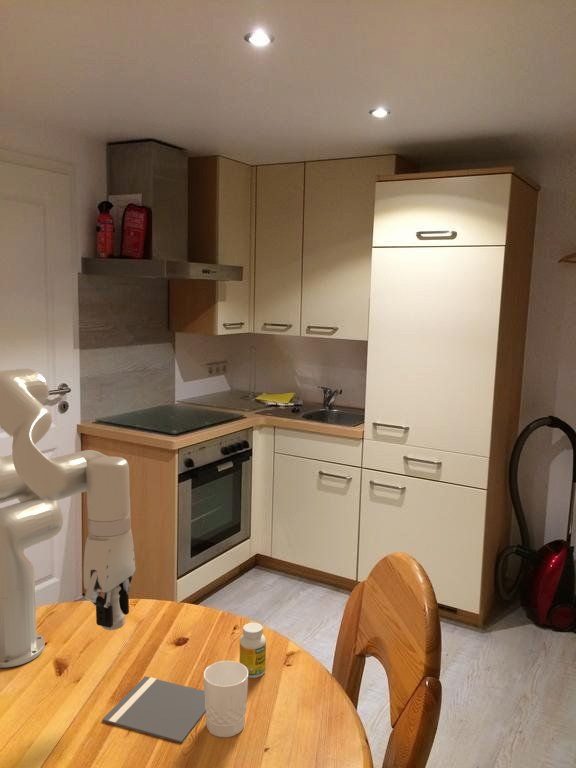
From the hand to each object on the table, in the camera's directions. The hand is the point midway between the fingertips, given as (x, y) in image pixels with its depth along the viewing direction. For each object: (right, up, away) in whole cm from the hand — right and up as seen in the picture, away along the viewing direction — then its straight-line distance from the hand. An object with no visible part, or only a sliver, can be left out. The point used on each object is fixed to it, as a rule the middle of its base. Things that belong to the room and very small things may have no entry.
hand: (113, 618), depth 120 cm
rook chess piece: (0, -2, 0) cm, 2 cm away
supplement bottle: (+25, -15, +11) cm, 32 cm away
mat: (+9, -16, -1) cm, 19 cm away
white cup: (+22, -17, -5) cm, 28 cm away
